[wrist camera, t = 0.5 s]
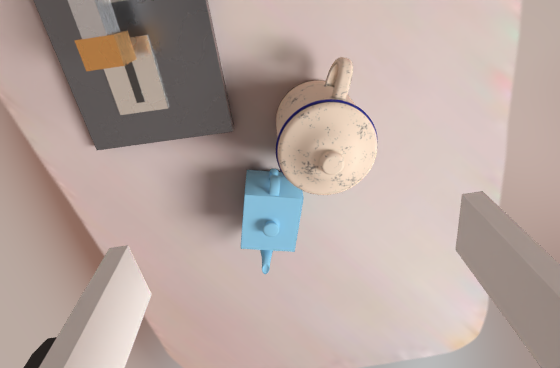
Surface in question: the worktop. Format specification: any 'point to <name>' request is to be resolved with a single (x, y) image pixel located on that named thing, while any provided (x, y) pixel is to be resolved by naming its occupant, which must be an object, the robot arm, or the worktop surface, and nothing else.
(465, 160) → the worktop surface
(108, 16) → the grey bar
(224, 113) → the plate
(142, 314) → the robot arm
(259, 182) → the teapot
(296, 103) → the teacup with lid
